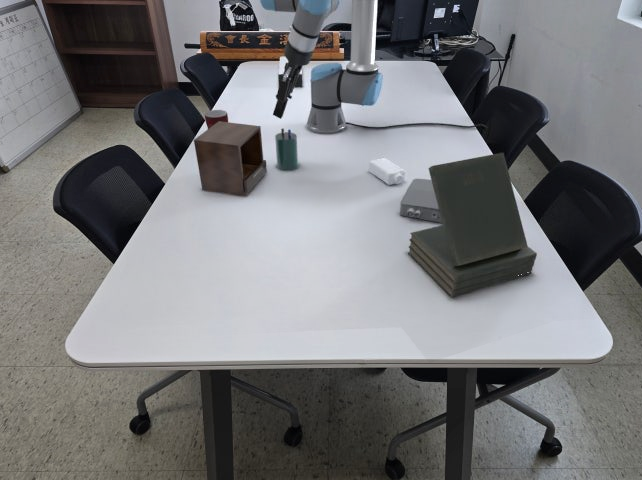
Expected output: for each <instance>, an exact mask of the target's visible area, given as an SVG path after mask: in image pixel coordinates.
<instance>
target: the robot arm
mask: <svg viewBox="0 0 642 480" xmlns="http://www.w3.org/2000/svg"><path fill="white" fill-rule="evenodd" d="M378 1H379V0H351V30H350V31H351V32H350V33H351V35H350V60H349V62H347V64H346V65H345V67H346V68H343V64H342V63H340V62H339V63H338V62H328V63H323V64H321V63H320V64H317V65H315V66H313V68H312V69H311V70H310V102H311V105H310V111H309V114H308V118H307V122H306V127H307V129H308V130H309V131H310V132H313V133H316V134H324V135H325V134H328V135H329V134H337V133H340V132H343V131H344V130H345V129H346V127H347V125H349V126H352V127H356V128H363V129H369V130H371V129H372V130H381V129H382V130H383V129H390V128H400V127H408V126H409V127H410V126H411V127H412V126H445V127H456V128H462V129H472V128H477V127H482V128H484V130H485V129H488V127H487V126H486V125H484V124H481V123H479V124H474V125H460V124H453V123H443V122H442V123H441V122H416V123H415V122H414V123H413V122H412V123H401V124H393V125H384V126H370V125H369V126H368V125H362V124H356V123H352V122H347V121H346V118H345V115H344V112H343V108H342V104H349V105H356V106H357V105H358V106H362V107H364V106H367V107H368V106H369V107H371V106H374V105H376V104H377V102H378V100H379V98H380V94H381V92H382V87H383V82H384V81H383V80H384V75H383V73H381V72H379V65H378V64H377V63H376V62H375V58H376V40H377V39H376V38H377V21H378V20H377V19H378V4H379V3H378ZM259 2H260V5H261V7H262V8H263V9H264V10H266V11H272V12H275V13H277V12H279V13H280V12H281V13H282V12H284V13H295V14H294V17H293V20H292V24H291V25H290V26H289V27H288V29H289V30H290V31H289V34H288V38H287V41H286V43H285V46H284V49H283V56H285V57H286V58H287V60H288V63H286V64H285V67H284V69H285V70H284V74H281V77H280V84H279V83H278V89H277V93H276V94H275V99H276V103H275V106H274V109H273V113H272V116H274V117H276V118H278V119H281V120H282V118H283V117H284V113H285V111H286V108H287V104H288V101H289V100H292V98H293V96H292V95H291V94H292V93H293V92H294V89H295V87H294V86H295V84H296V81H297V79H298V76H299V74H300V71H301V69H302V70H303V67H304V66H307V65H309V64H310V62H311V60H312V57H313V54H314V50H315V49H316V46H317V43H318V40H319V37H320V33H321V30H322V28H323V25H324V22H325V20H327V18H328V17H329V16H330V15H331V14H333V13H334V12H336V10H337V9H338V8H339V6H340V4H341V3H342V0H259Z"/></svg>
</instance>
